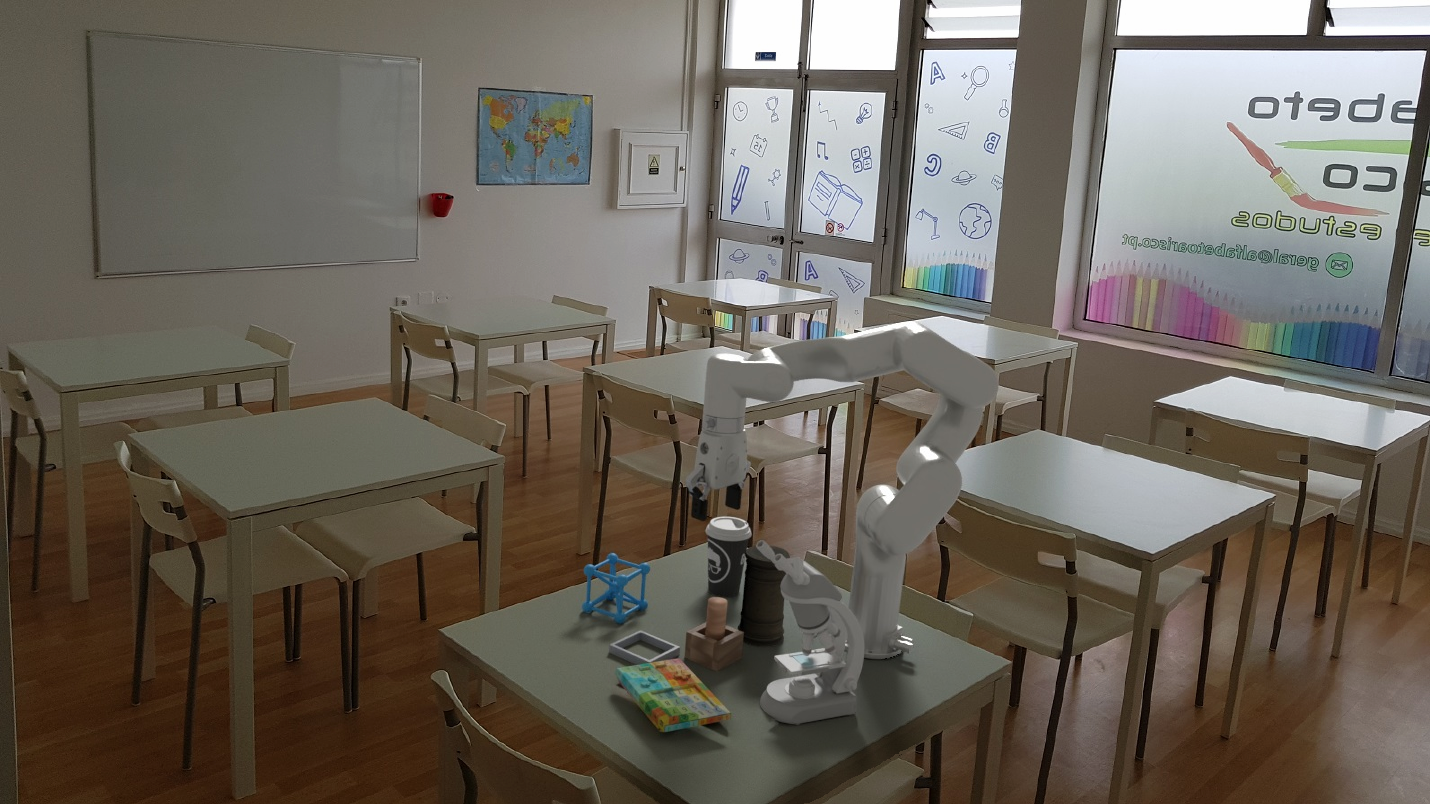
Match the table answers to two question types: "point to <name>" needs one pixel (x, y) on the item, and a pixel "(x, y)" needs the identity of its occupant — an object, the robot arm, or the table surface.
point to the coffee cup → (726, 554)
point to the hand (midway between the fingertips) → (715, 513)
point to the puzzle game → (671, 695)
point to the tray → (670, 648)
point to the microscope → (833, 676)
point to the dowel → (716, 618)
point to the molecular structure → (615, 587)
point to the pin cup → (713, 647)
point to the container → (762, 600)
